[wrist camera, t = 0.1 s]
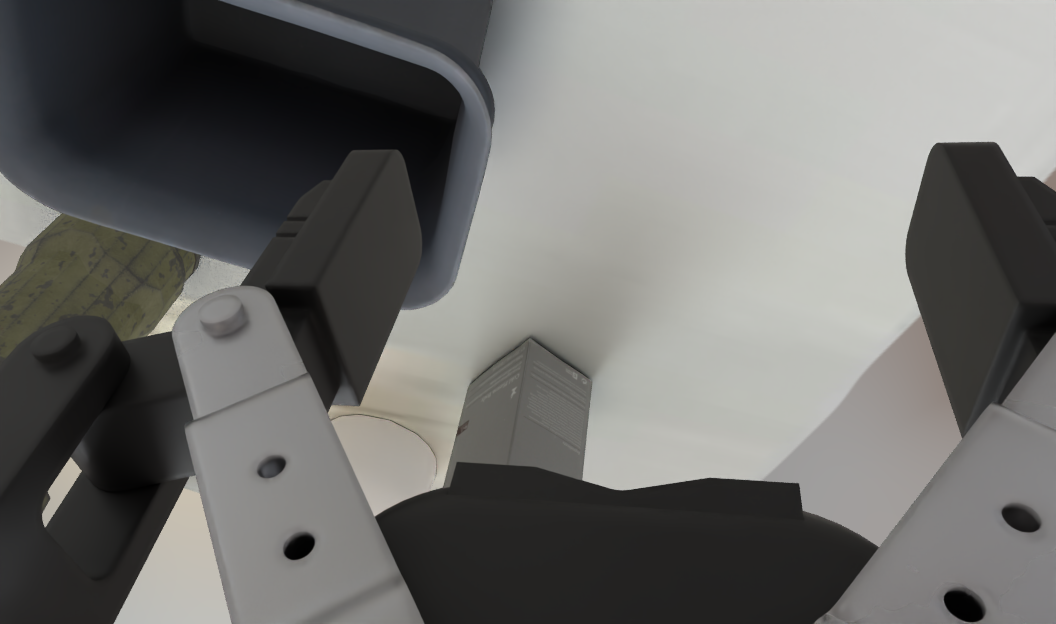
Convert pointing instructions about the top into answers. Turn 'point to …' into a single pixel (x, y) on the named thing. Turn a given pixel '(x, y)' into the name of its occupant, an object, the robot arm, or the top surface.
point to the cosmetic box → (525, 415)
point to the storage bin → (244, 114)
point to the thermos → (91, 282)
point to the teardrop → (386, 459)
